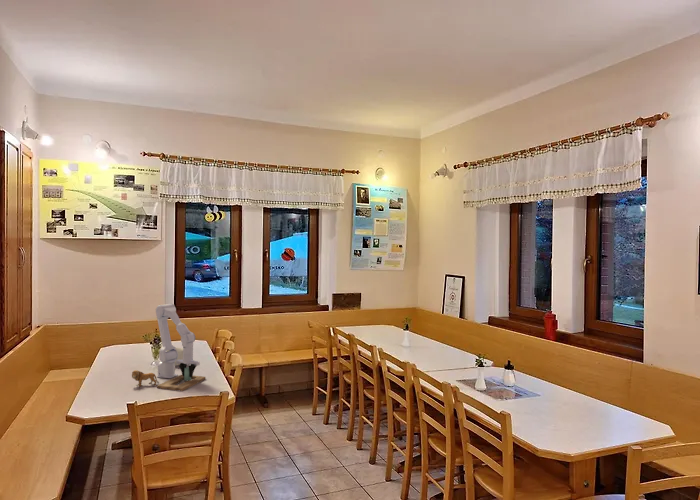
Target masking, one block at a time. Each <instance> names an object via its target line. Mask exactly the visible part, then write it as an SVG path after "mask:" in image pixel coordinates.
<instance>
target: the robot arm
mask: <svg viewBox="0 0 700 500" xmlns="http://www.w3.org/2000/svg"><path fill="white" fill-rule="evenodd" d="M155 314H156V318H157V324H158V329H159V333H160V334H159V335H160V339H161V340H160V341H161V345H162V347H161V348H160V350H159V351H158V352H159V363H158V364H157V376H156V378H161V379H173V378H175V377H177V376H179V375H178V374H177V373H176V366H175V361H176V364H178V363H179V364H180V365H178V367H179V369H180V372H181V375H183V377H184V368H186V367H187V366H188V367H189V377H192V376H194V372H195V369H196V367H197V366H199V365H200V364H201V363H200V361H199V360H194V343H195V341H196V335H195V333H194V332H192V331H190V329H189V328H188V327H187V325H186V323H183V322H182V321H181V319H180V316H179V315H178V313H177V308H176V306H175V304H174V303H167V304H166V303H165V304H159V305H157V306H156V308H155ZM169 318H170V320H171V321H172V323H173V324H175V329H176V331H177V333H178V335H179V336H180V341H181V342H180V343H181V346H182V348H183V360H176V359H177V358H178V352H177V351H176V348H177V347H176V346H175V345H173V343H172V339H171V335H170V334H171V333H170V329H169V323H168V322H169V321H168V319H169ZM167 350H170V351H167Z"/></svg>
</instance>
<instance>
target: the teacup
mask: <svg viewBox="0 0 700 500" xmlns="http://www.w3.org/2000/svg"><path fill="white" fill-rule="evenodd" d="M167 351H170V350H167ZM167 351H166V352H167ZM176 351H177V352H178V358H177V359H176V360H183V347H176ZM179 365H180V364H179V363H178V364H176V361H175V367H176V366H179Z"/></svg>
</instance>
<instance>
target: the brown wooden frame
mask: <svg viewBox="0 0 700 500" xmlns="http://www.w3.org/2000/svg"><path fill="white" fill-rule="evenodd" d="M205 380H206V376H201V375H200V376H199V375H193V376H192V377H191V380H189V381H184V377H183V375H182V374H180V375H177V376H175V377H172V378H170V379H168V380H166V381H164V382H162V383H158V385H157V384H156V388H157V389H160V388H161V390H162V389H163V390H170V391H177V390H180V391H179V392H183V391H185V390H187V389H190V388H191V387H193V386H195V385H197V384H199V383H201V382H203V381H205ZM182 381H184V382H182ZM181 382H182V383H181ZM177 384H178V385H177Z"/></svg>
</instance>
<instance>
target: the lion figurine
mask: <svg viewBox="0 0 700 500" xmlns="http://www.w3.org/2000/svg"><path fill="white" fill-rule="evenodd" d="M131 378H132V379H134V380H135V381H136V382H138V383H137V386H138V387H141V386H142V381H147V380H149V379H150V382H149V385H151V384H153V385H154V386H157V383H158V384H160V382H159V381H158V379H157V376H156V374H155V373H153V372H148V373H144V372H143V371H140V370H137V369H136V370H133V371H132V372H131ZM153 382H154V383H153Z"/></svg>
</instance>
